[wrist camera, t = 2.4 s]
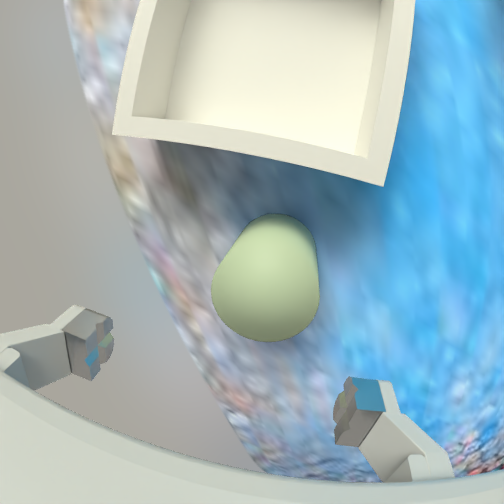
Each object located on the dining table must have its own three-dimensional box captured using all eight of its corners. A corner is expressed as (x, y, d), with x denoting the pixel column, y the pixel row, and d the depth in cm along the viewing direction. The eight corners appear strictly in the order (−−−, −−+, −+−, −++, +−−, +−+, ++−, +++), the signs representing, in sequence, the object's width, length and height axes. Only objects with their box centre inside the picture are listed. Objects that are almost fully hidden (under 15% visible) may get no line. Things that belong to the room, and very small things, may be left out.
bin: (396, -24, 13) (417, -61, 8) (363, 174, 18) (382, 186, 13) (199, -51, 14) (173, -87, 9) (154, 133, 19) (112, 134, 14)
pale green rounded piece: (325, 224, 19) (332, 259, 14) (305, 296, 21) (303, 351, 15) (244, 205, 20) (219, 233, 14) (231, 278, 21) (205, 327, 16)
